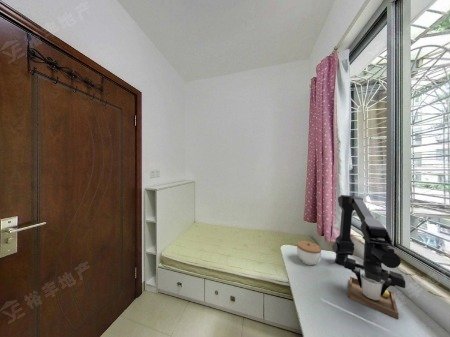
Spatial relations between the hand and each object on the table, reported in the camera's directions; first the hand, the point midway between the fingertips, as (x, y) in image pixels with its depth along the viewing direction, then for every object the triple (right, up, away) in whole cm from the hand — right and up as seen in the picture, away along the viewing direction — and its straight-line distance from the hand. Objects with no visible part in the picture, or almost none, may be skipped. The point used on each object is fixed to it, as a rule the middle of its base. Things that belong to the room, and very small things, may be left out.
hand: (370, 291), depth 70 cm
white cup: (0, -2, 0) cm, 2 cm away
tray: (0, -3, 0) cm, 3 cm away
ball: (+6, -3, 0) cm, 7 cm away
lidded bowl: (-13, -2, +26) cm, 30 cm away
